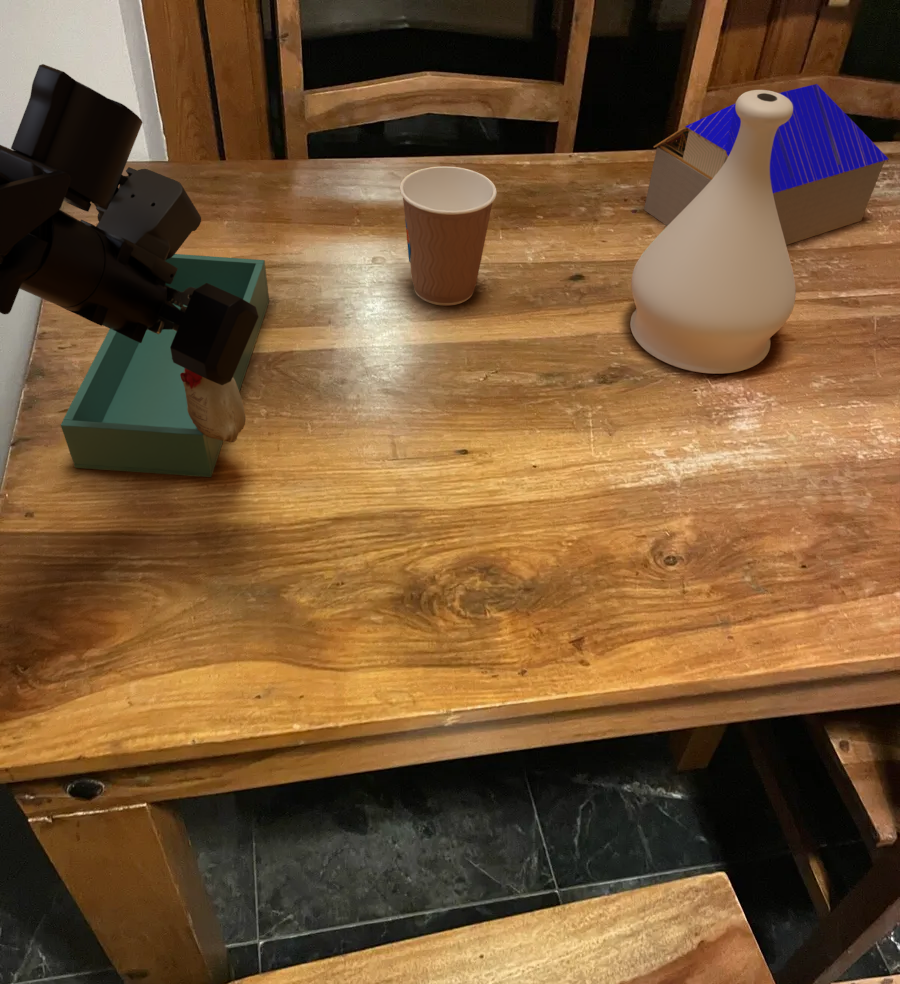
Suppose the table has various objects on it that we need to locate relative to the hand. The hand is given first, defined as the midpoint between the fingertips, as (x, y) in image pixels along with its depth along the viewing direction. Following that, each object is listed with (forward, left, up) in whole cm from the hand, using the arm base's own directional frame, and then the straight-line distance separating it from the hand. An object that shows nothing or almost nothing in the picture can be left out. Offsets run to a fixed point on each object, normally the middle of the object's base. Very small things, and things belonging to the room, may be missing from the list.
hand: (209, 334), depth 78 cm
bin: (-4, +13, -13) cm, 19 cm away
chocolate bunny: (0, -2, -7) cm, 7 cm away
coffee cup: (+25, +26, -13) cm, 39 cm away
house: (+69, +39, -13) cm, 81 cm away
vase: (+52, +14, -13) cm, 56 cm away
